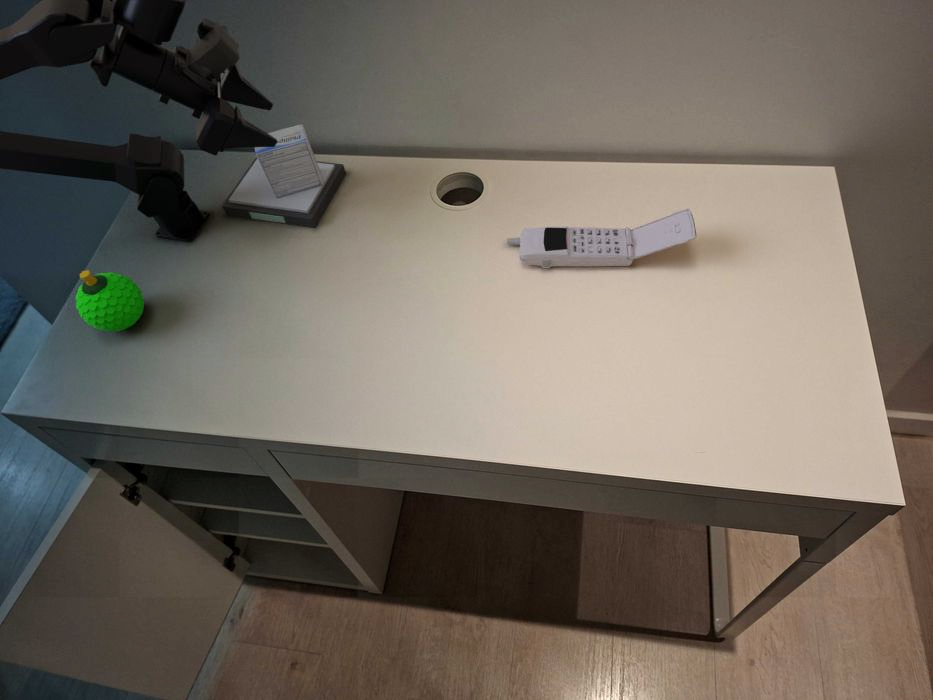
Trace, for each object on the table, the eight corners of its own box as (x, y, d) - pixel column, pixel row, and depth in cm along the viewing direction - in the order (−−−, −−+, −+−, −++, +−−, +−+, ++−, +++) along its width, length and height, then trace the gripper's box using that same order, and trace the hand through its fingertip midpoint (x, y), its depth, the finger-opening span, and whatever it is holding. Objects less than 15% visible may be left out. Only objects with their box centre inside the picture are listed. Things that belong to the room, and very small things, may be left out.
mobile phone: (698, 238, 77) (504, 239, 80) (688, 270, 82) (506, 269, 84) (692, 207, 80) (506, 208, 83) (682, 239, 85) (507, 239, 88)
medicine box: (319, 168, 97) (302, 122, 90) (324, 185, 94) (307, 139, 87) (272, 182, 96) (251, 136, 89) (275, 199, 94) (254, 153, 86)
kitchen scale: (225, 216, 96) (219, 204, 94) (262, 163, 103) (256, 151, 101) (314, 229, 93) (309, 216, 91) (346, 173, 100) (342, 161, 98)
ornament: (88, 325, 86) (41, 279, 78) (136, 289, 89) (96, 242, 81) (118, 352, 82) (72, 308, 74) (166, 314, 86) (127, 268, 77)
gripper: (180, 53, 67) (306, 117, 77) (183, -20, 77) (294, 45, 87) (147, 129, 73) (268, 180, 83) (154, 52, 83) (261, 106, 93)
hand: (273, 124), depth 86 cm, fingers open, 9 cm apart
